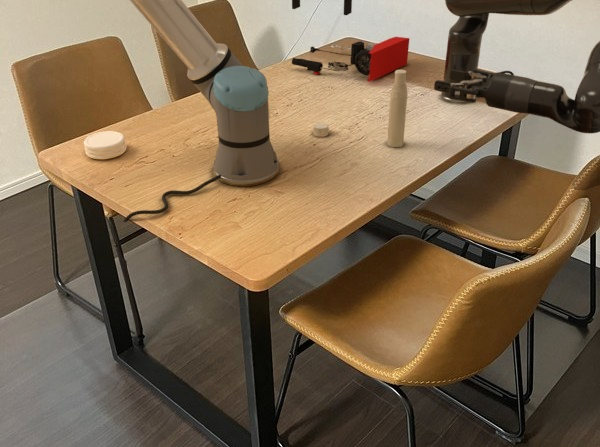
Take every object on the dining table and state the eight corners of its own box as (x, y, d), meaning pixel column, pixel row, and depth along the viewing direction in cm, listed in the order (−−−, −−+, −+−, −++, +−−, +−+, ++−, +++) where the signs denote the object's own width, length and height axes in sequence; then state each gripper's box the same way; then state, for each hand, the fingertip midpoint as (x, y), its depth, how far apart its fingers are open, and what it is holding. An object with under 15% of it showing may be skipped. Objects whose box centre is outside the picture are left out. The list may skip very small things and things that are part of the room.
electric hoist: (290, 38, 202) (370, 53, 187) (334, 24, 221) (410, 36, 206) (290, 69, 207) (368, 86, 192) (333, 52, 226) (407, 67, 211)
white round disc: (96, 164, 150) (94, 150, 148) (79, 150, 156) (76, 138, 154) (134, 151, 155) (131, 138, 153) (115, 139, 162) (113, 127, 160)
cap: (330, 132, 164) (330, 123, 163) (325, 137, 161) (325, 129, 160) (316, 129, 165) (316, 121, 164) (311, 135, 162) (311, 127, 161)
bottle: (397, 148, 155) (402, 75, 145) (383, 144, 157) (388, 71, 147) (406, 143, 157) (412, 70, 147) (393, 139, 160) (398, 67, 150)
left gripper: (263, -90, 137) (267, 8, 149) (367, -86, 127) (363, 20, 138) (280, -94, 143) (283, 2, 154) (381, -89, 133) (376, 12, 144)
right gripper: (498, 120, 131) (427, 104, 139) (520, 99, 141) (454, 86, 149) (503, 86, 127) (431, 71, 135) (526, 67, 137) (457, 55, 145)
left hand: (321, 11), depth 146 cm, fingers open, 13 cm apart
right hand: (443, 79), depth 142 cm, fingers open, 8 cm apart
